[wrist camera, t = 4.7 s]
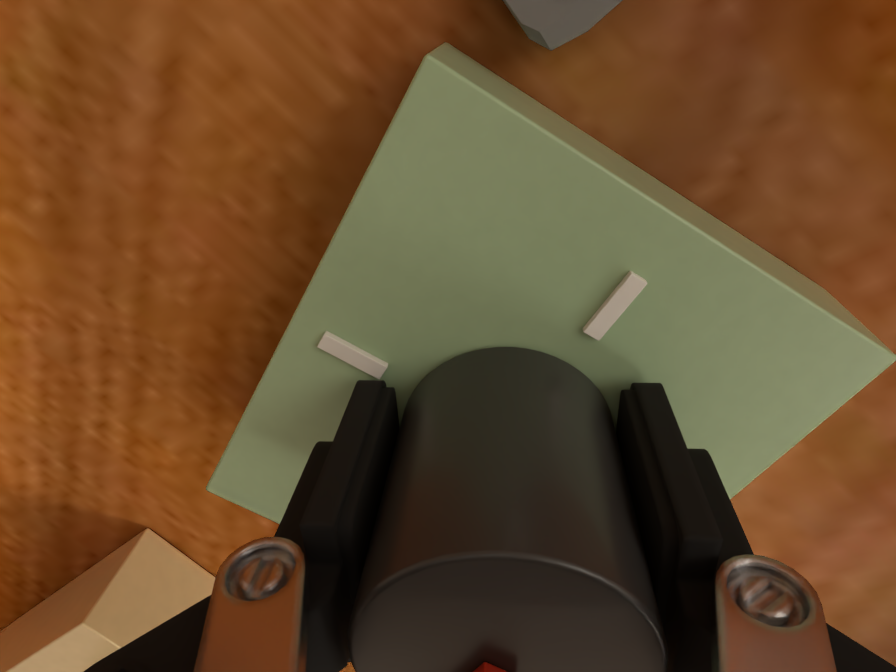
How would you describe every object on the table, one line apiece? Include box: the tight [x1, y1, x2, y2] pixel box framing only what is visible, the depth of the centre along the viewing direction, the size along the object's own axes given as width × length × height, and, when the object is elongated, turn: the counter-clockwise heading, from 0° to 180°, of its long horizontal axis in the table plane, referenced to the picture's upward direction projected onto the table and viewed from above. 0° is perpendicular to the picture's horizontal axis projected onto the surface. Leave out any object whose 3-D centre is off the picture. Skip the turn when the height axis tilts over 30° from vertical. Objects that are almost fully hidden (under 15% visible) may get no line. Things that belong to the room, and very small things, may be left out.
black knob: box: [347, 347, 668, 672], centre depth 10 cm, size 4×4×5 cm
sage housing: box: [206, 42, 896, 524], centre depth 14 cm, size 11×10×3 cm
